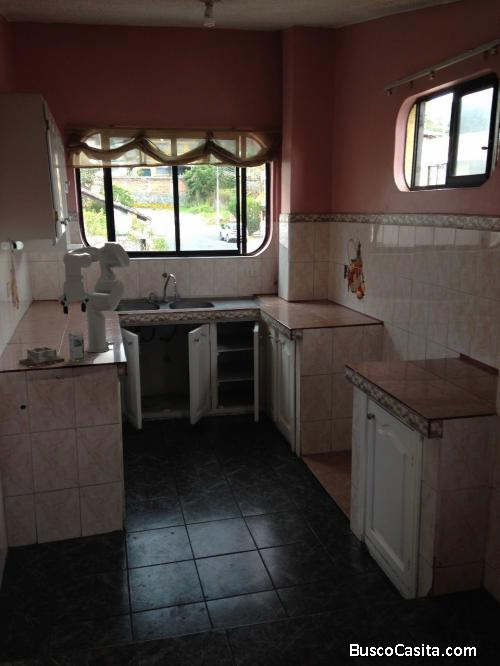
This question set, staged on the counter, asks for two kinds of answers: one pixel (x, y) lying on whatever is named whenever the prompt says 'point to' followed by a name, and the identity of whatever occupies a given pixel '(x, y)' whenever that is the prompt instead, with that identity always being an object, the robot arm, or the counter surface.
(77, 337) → the syrup box
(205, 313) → the counter surface
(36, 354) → the collar stand
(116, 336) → the counter surface
